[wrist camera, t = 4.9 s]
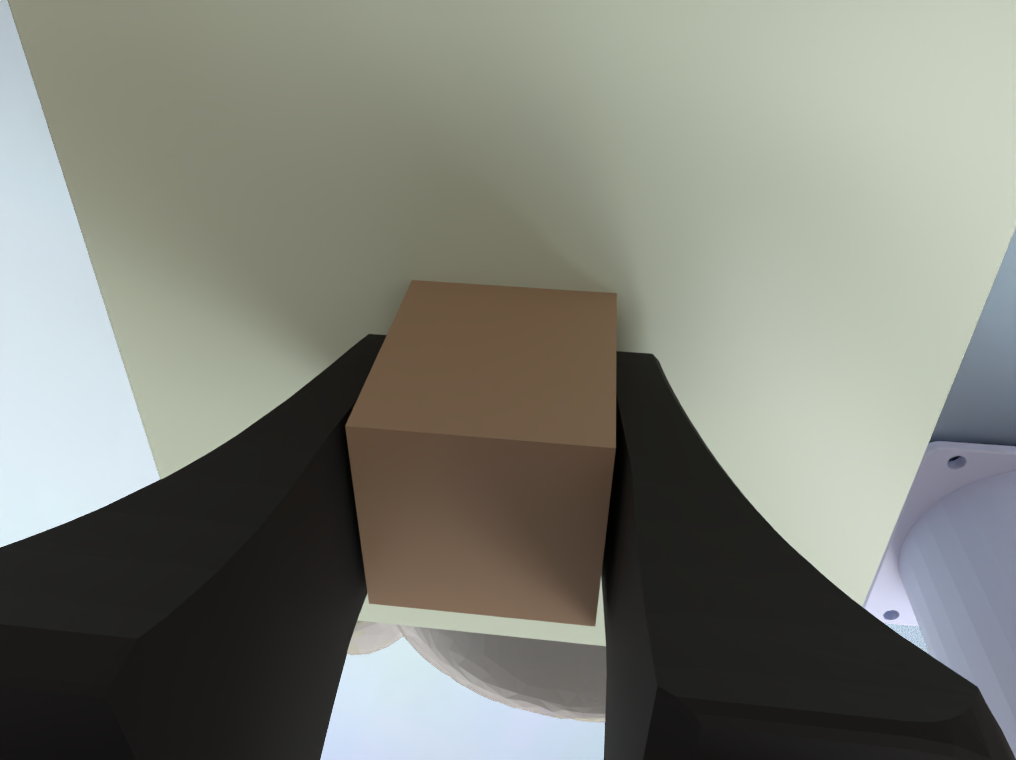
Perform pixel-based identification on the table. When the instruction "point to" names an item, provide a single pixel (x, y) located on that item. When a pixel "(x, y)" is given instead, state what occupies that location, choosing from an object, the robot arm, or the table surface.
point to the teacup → (506, 667)
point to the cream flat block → (544, 253)
